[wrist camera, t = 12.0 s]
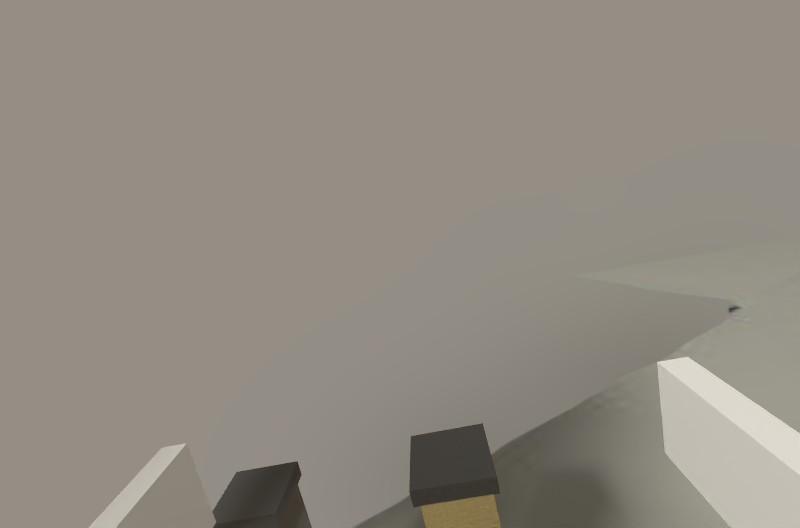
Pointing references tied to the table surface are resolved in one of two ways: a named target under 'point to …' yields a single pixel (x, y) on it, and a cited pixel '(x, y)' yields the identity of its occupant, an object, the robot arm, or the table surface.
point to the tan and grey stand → (263, 499)
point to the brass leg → (454, 479)
